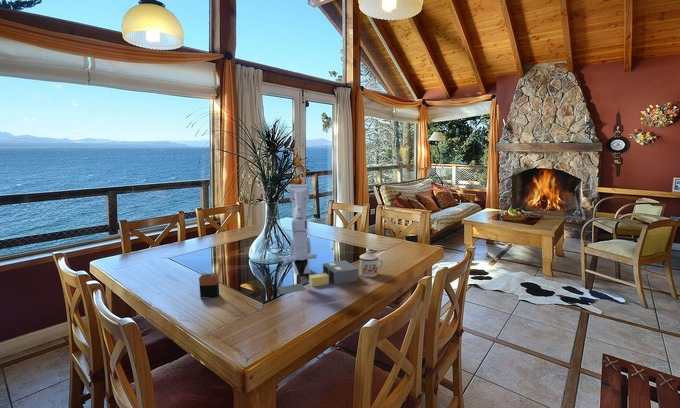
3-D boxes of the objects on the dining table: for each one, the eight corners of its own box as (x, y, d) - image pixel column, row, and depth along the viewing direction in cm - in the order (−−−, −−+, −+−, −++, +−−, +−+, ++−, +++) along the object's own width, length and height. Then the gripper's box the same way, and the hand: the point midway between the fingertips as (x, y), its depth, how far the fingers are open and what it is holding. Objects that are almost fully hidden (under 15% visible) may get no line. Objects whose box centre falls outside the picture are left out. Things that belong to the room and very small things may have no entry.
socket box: (322, 275, 168) (322, 263, 167) (345, 271, 173) (345, 259, 172) (334, 285, 155) (334, 272, 155) (358, 280, 160) (358, 268, 159)
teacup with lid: (362, 278, 163) (362, 254, 162) (357, 272, 172) (357, 249, 170) (386, 276, 166) (386, 252, 164) (379, 270, 175) (380, 247, 173)
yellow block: (309, 284, 157) (309, 275, 156) (325, 282, 160) (325, 272, 159) (312, 287, 153) (311, 278, 152) (328, 285, 156) (328, 275, 155)
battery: (203, 294, 147) (201, 272, 145) (219, 293, 147) (218, 271, 146) (200, 298, 142) (198, 275, 141) (217, 298, 143) (215, 274, 142)
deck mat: (276, 288, 152) (276, 287, 152) (300, 284, 157) (300, 283, 157) (281, 295, 145) (281, 294, 145) (306, 290, 150) (306, 289, 150)
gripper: (286, 250, 143) (287, 281, 145) (319, 246, 149) (319, 276, 151) (282, 246, 150) (283, 276, 152) (313, 242, 156) (314, 271, 158)
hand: (301, 276), depth 152 cm, fingers closed
